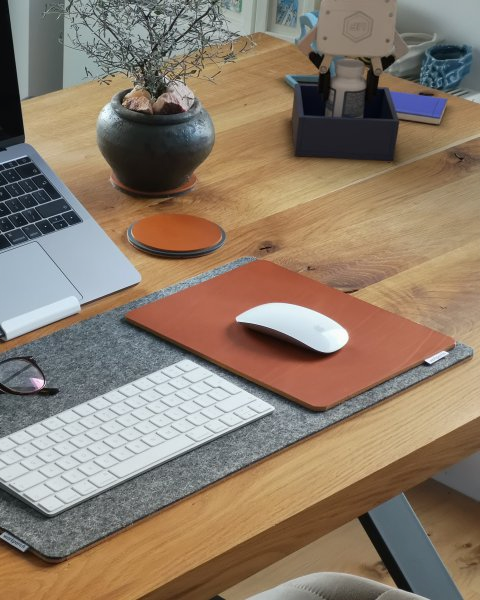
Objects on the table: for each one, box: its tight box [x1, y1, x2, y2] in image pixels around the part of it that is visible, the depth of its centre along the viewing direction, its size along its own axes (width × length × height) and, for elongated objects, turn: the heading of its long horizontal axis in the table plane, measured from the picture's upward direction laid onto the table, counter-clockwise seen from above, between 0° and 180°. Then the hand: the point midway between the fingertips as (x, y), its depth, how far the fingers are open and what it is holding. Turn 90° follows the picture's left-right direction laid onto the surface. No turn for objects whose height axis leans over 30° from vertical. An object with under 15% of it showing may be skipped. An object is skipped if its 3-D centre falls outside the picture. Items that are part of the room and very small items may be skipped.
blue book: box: [389, 90, 448, 125], centre depth 169 cm, size 2×8×12 cm
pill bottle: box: [325, 58, 367, 118], centre depth 156 cm, size 5×5×9 cm
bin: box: [291, 83, 400, 162], centre depth 158 cm, size 13×13×6 cm
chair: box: [284, 10, 346, 90], centre depth 175 cm, size 8×8×12 cm
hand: (346, 97), depth 156 cm, fingers closed on pill bottle, 5 cm apart
